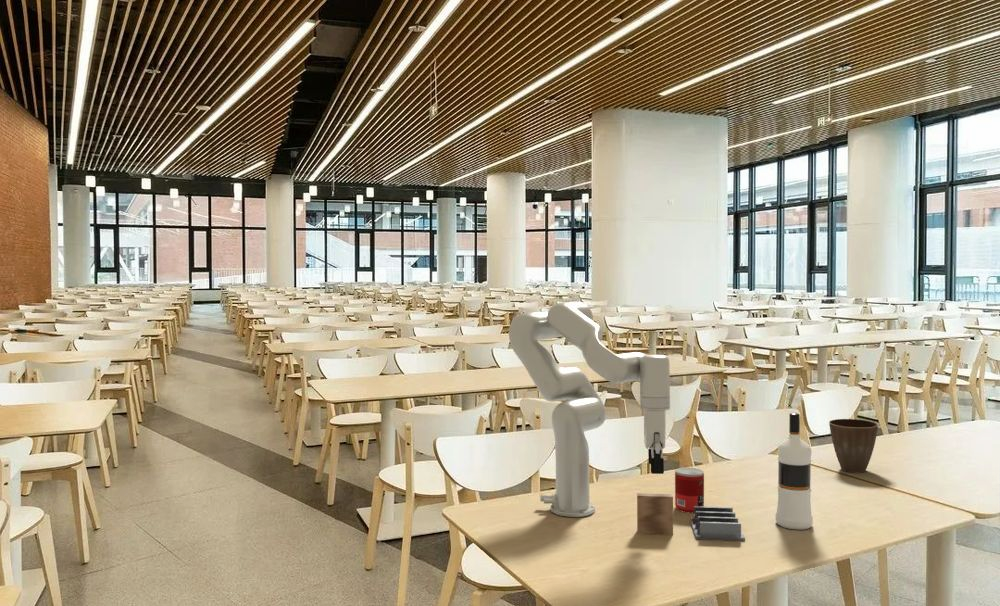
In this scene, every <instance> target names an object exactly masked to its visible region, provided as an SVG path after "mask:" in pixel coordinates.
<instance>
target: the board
mask: <svg viewBox="0 0 1000 606" xmlns="http://www.w3.org/2000/svg"><path fill="white" fill-rule="evenodd" d="M636 503H637V504H636V511H637V512H636V513H637V514H636V520H637V522H636V525H637V526H636V527H637V528H636V531H637V532H638V533H637V534H638V535H657V534H660V535H659V536H661V535H662V536H663V535H664V536H674V495H673V494H672V493H671V494H669V493H645V492H644V493H641V492H640V493H639V492H638V493H637V494H636Z"/></svg>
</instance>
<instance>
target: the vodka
mask: <svg viewBox="0 0 1000 606" xmlns="http://www.w3.org/2000/svg"><path fill="white" fill-rule="evenodd" d="M788 415H789V420H788V421H789V422H788V423H789V426H788V428H789V433H788V434H789V435H788V438H786V439H784V440H783V441H781V442H780V443H779V444H778V447H777V461H778V465H777V466H778V468H777V470H778V472H777V473H778V476H777V477H778V479H777V481H778V483H777V487H776V488H777V495H778V497H777V507H776V513H775V521H776V523H777V525H779V526H780V527H782V528H785V529H787V528H788V530H794V531H795V530H796V531H802V530H803V531H804V530H808V529H810V528H812V526H813V524H814V519H813V514H812V506H811V505H812V504H811V492H812V487H811V470H812V469H811V468H812V467H811V466H812V465H811V463H812V448H811V446H810V445H809V444H808V443H807V442H805V440H803V439H802V438H801V434H800V428H801V427H800V426H801V425H800V421H801V420H800V419H801V418H800V415H801V414H800V413H798V412H797V413H796V412H790V413H789V414H788Z"/></svg>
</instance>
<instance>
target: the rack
mask: <svg viewBox="0 0 1000 606" xmlns="http://www.w3.org/2000/svg"><path fill="white" fill-rule="evenodd" d="M689 520H690V521H689V523H690V525H691V529H692V531H693V534H694V538H695V539H696V540H703V539H711V541H730V540H731V542H732V541H733V542H734V541H735V542H737V541H738V542H746V537H745V535H744V533H743V531H742V523H741V522H739V517H736V512H734V511H733V506H732V507H727V506H704V507H702V506H694V513H693V518H690V519H689Z"/></svg>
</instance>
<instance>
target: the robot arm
mask: <svg viewBox="0 0 1000 606" xmlns="http://www.w3.org/2000/svg"><path fill="white" fill-rule="evenodd" d="M593 317H594V315H593V312H592V310H591V307H590V306H588V305H587V304H586V303H584V302H582V301H568V302H567V301H566V302H558V303H556V304H553V305H552V306H551V307H550V308H549V309H548V310H541V311H527V312H522V313H520V314H518V315H516V316H515V317H514V318H513V319H512V321H510V324H509V330H508V339H509V344H510V347H511V348H512V351H513V352H514V354H515V355H516V356H517V358H518V359H519V361H520V362H521V364H522V365H523V366H524V367H525V369H526V371H527V373H528V375H529V376H530V378H531V380H532V382H533V383H534V385H535V387H536V388H537V390H538V392H539V393H540V395H541V397H542V398H543V399H544V400H545V401H548V402H551V403H552V402H560V401H562V402H560V403H559V404H557V405H556V406H555V407H554V409H553V411H552V413H551V425H552V429H553V434H554V444H555V446H554V447H555V492H554V493H552V494H551V495H550V494H548V495H547V494H540V499H539V500H540V502H541V503H542V502H543V504H548V505H549V504H551V505H550V511H551V513H553V514H554V513H555V515H557V516H561V517H568V518H581V517H587V516H590V515H592V514H594V512H596V506H595V505H594V504H593V503H591V502H590V447H589V443H588V440H587V438H586V436H585V432H587V431H591V430H595V429H598V428H599V427H601V426H602V425H603V424H604V423H605V421H606V419H607V412H606V406H605V404H604V402H603V401H602V398H601V397H600V395H599V393H598V392H597V390H596V389H595V387H594V386H593V384H592V382H591V381H590V380H589V378H588V376H587V375H586V374H585V373H584V372H583V370H581V369H579V368H578V367H576V366H560V365H559V364H558V363H557V362H556V360H555V358H553V355H552V354H551V352H550V351H549V350H548V349H547V348H546V347H545V346H543V345H542V344H541V343H540V342H539V341H541V340H542V341H543V340H550V339H556V338H562V337H563V338H564V339H565V340H567V341H568V342H570V343H571V344H573V345H574V346H575V347H576V348H577V349H579V350H580V351H581V353H582V356H583V359H584V361H585V363H586V364H587V365H588V367H589V368H590V369H591V370H592V371H593V372H595V373H596V374H597V375H599V376H600V377H601V378H602V379H604V380H606V381H608V382H610V383H612V384H622V383H623V384H624V383H629V382H636V381H639V393H640V394H639V398H640V401H639V405H640V409H641V410H643V429H644V430H643V442H644V443H643V444H644V447H645V449H647V450H648V451H647V452H648V456H647V457H648V464H649V465H650V474H655V475H658V474H659V475H661V474H662V475H663V474H665V473H664V472H665V469H664V467H665V462H664V460H665V458H664V452H663V449H665V448H666V429H667V427H666V423H667V422H666V411H668V410H670V409H671V395H670V393H671V390H670V389H671V386H670V385H671V383H670V381H671V380H670V379H671V378H670V359H669V358H668V356H667V355H663V354H647V353H644V352H640V351H639V352H638V351H633V352H624V353H618V354H617V353H614V352H613V351H611V350H610V349H609V348H607V347H606V346H605V345H604V344H602V343H601V341H602V339H603V335H604V331H603V328H602V326H600V324H598V323H596V322H595V321H594V320H593Z"/></svg>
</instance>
